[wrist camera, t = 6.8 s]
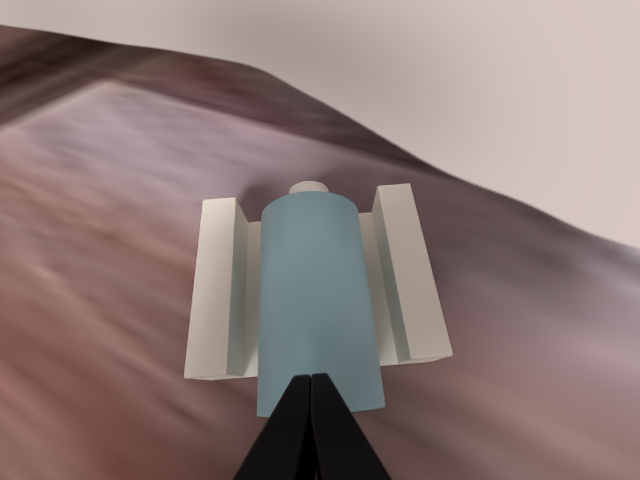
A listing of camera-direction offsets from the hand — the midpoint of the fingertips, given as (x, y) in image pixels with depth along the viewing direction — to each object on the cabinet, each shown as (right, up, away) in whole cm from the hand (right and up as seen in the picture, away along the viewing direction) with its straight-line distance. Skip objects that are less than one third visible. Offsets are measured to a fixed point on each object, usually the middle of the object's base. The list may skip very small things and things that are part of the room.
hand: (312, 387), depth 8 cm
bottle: (0, -3, +4) cm, 4 cm away
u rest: (0, +1, +8) cm, 9 cm away
